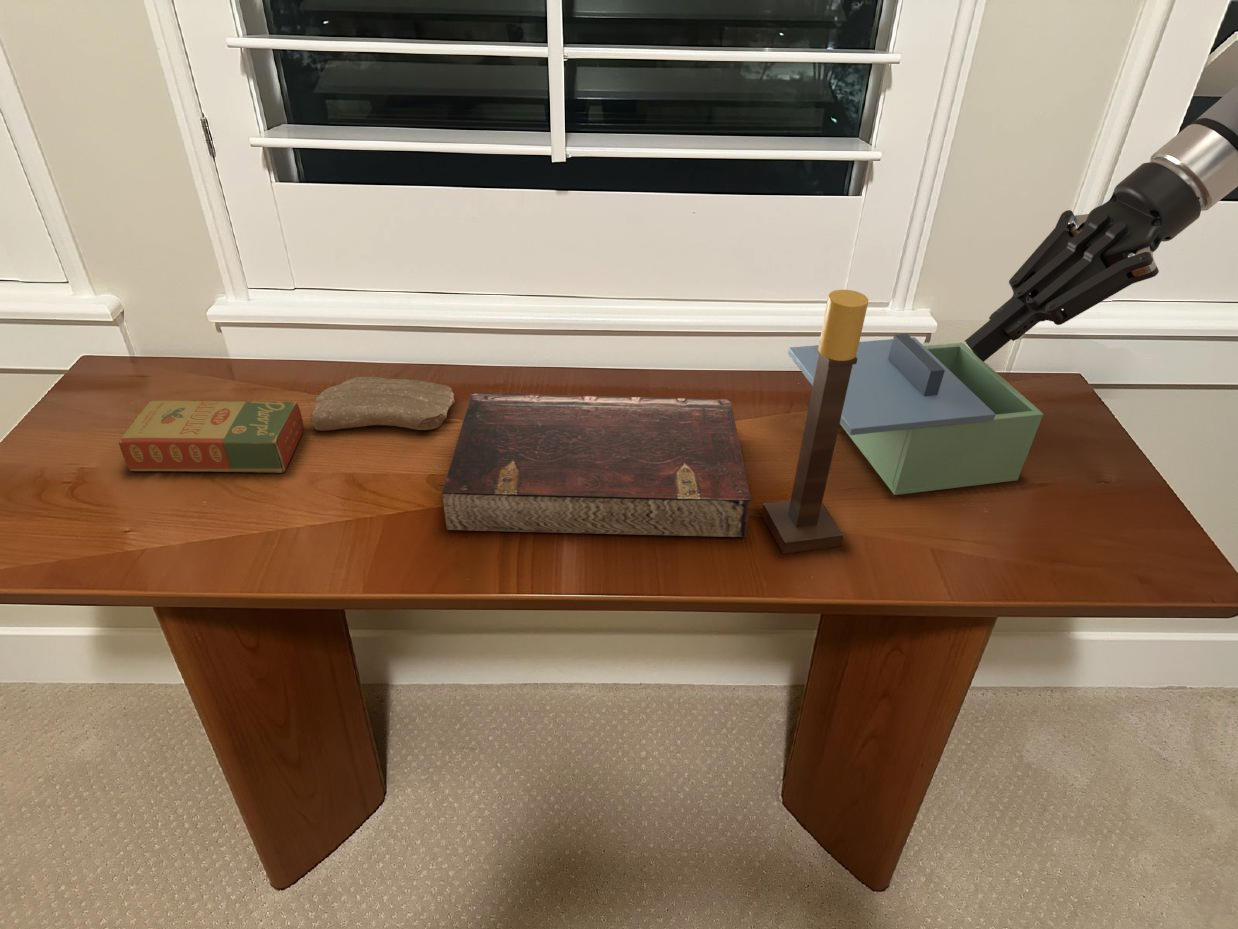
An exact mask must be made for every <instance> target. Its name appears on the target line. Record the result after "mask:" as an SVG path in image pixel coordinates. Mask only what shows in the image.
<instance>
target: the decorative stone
mask: <svg viewBox="0 0 1238 929" xmlns="http://www.w3.org/2000/svg"><path fill="white" fill-rule="evenodd" d="M454 394H455V393H454V392H453V390H452V387H451V386H449V385H446V384H442V383H437V382H431V381H424V380H415V379H411V378H403V379H400V378H394V379H393V378H383V377H379V376H356V377H352V378H350V379H348V380H344V381H343V382H341V383H339V384H337V385H334V386H330V387H328V388H325V389H324V390H323V391H322V392H320V394H319V395H318V396H317V397H315V405H314V409H313V411H312V412H311V419H310V420H311V423H312V426H313V428H314V430H316V431H319V432H320V431H321V432H322V431H324V432H325V431H335V430H336V431H337V430H341V429H342V430H344V429H352V428H353V429H354V428H360V427H361V428H362V427H368V426H389V427H390V426H391V427H392V426H393V427H400V428H406V429H410V430H417V431H429V430H434V429H438V428H439V427H441V425H443V423H444V421H445V420H446V419H447V417H448V411H449V410H450V409H451V407H452V406H453V405H454V404H455V395H454Z"/></svg>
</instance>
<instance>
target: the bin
mask: <svg viewBox="0 0 1238 929" xmlns="http://www.w3.org/2000/svg"><path fill="white" fill-rule="evenodd" d="M923 346H924V347H925V348H927V349H928V350H929V351H930V352H931V353H932V354H933V355H934V356H935V357H936V358H937V359H938V360H939V361H940V362H941V363H942V364H943V365H944V366H945V367H946V368H948V369H949V370H950V371H951V372H952V373H953V374H954V375H955V376H956V377H957V378H958V379H959V380H960V381H961V382H962V383H963V384H964V385H965V386H966V387H967V388H969V389H970V390H971V391H972V392H973V393H974V394H975V395H976V396H977V397H978V398H979V399H980V400H981V401H982V402H983V403H984V404H985V405H986V406H987V407H988V408H990V409H991V410H992V411H993V412H994V413H995V417H994V420H992V421H983V422H973V423H963V424H954V425H944V426H934V427H925V428H915V429H905V430H896V431H886V432H876V433H866V434H857V435H850V434H849V433H848V432H847V430H846V429H845V428H844V426H843V425H842V424H841V422H840V424H839V426H841V427H842V429H843V430H844V431H845V432H846V434H847V435H848V437H849V438H850V439H851V440H852V442H853V443H854V444H855V446H856V447H857V448H858V450H859V451H860V452H861V454H862V455H863V456H864V457H865V458H866V460H867V461H868V463H869V464H870V465H871V467H872V468H873V469H874V471H875V472H876V473H877V474H878V475H879V477H880V479H881V480H882V481H883V482H884V483H885V485H886V486H887V487H888V489H889V490H890V492H891V493H892V494H893V495H894V496H899V495H907V494H915V493H924V492H933V491H940V490H941V491H942V490H950V489H956V488H957V489H958V488H965V487H974V486H982V485H992V484H998V483H1007V482H1014V481H1018V480H1019V478H1020V475H1021V472H1022V470H1023V467H1024V465H1025V462H1026V459H1027V457H1028V454H1029V452H1030V449H1031V447H1032V445H1033V442H1034V439H1035V437H1036V435H1037V432H1038V429H1039V426H1040V424H1041V421H1042V420H1043V418H1044V417H1043V416H1044V413H1043V411H1040V409H1039V408H1037V407H1036V406H1035V405H1034V404H1033V403H1032V402H1031V401H1030V400H1029V399H1028V398H1026V397H1025V396H1024V395H1023V394H1022V393H1021V392H1019V391H1018V390H1017V389H1016V388H1015V387H1014V386H1013V385H1012V384H1010V382H1008V381H1007V380H1006V379H1005V378H1003V377H1002V376H1001V375H1000V374H999V373H998V372H997V371H995V370H994V369H993V368H992V367H991V366H990V365H989V364H988V363H986V361H984V362H983V361H982V360H980V359H979V358H978V357H977V356H976V355H975V354H974V353H973V351H972V350H971V349H970V347H969V346H968V345H967V344H966V343H963V342H954V343H942V344H931V345H929V344H927V345H923Z"/></svg>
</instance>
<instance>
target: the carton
mask: <svg viewBox="0 0 1238 929" xmlns="http://www.w3.org/2000/svg"><path fill="white" fill-rule="evenodd" d="M301 412H302V411H301V409H300V405H299V403H298V402H296V401H234V400H233V401H229V400H228V401H226V400H225V401H224V400H223V401H221V400H219V401H218V400H217V401H215V400H214V401H213V400H150V401H149V402H148V403H147V405H146V406H145V407H143V409H142V411H141V412H140V413H139V414H138V415H137V417H135V419H134V421H133V422H132V423H131V425H130V426H129V427H128V428H127V430H126V431H125V432H124V434H123V435H122V436H121V438H120V439H119V441H118V445H119V448H120V451H121V455H122V457H123V459H124V461H125V464H126V466H127V468H128V470H129V471H130V472H218V473H219V472H224V473H258V474H259V473H261V474H262V473H263V474H282V473H285V471H286V470H287V467H288V465H289V463H290V461H291V459H292V457H293V454H294V452H295V450H296V448H297V446H298V444H299V441H300V439H301V437H302V435H303V433H304V429H305V426H304V420H303V417H302V416H303V415H302V413H301Z"/></svg>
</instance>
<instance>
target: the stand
mask: <svg viewBox="0 0 1238 929" xmlns="http://www.w3.org/2000/svg"><path fill="white" fill-rule="evenodd" d="M818 347H819V346H817V350H816V353H817V354H818V355H819V356H818V361H817V367H816V372H815V377H814V382H813V386H812V387H811V393H810V399H809V402H808V403H809V404H808V409H807V413H806V420H805V424H804V428H803V429H804V430H803V434H802V440H801V445H800V449H799V454H798V455H799V456H798V460H797V466H796V470H795V476H794V481H793V486H792V491H791V496H790V499H789V500H781V501H771V502H763V504H762V509H761V516H762V519H763V520H764V522H765V524H766V526H767V527H768V529H769V532H770V533H771V535H772V537H773V539H774V540H775V543H776V544H777V546H778V548H779V550H780V552H781V554H782V555H786V554H793V553H794V554H795V553H800V552H801V553H803V552H809V551H818V550H823V549H825V550H826V549H831V548H838V547H839V548H840V547H842V542H843V540H844V533H843V532H842V531H841V529H840V527H839V526H838V524H837V523H836V521H835V519H834V517H832V515H831V513H830V512H829V511H828V509H827V507H826V506H825V504H824V502H823V501H824V496H825V492H826V487H827V483H828V477H829V473H830V468H831V464H832V459H833V455H834V450H835V446H836V442H837V438H838V433H839V429H840V420H841V415H842V411H843V406H844V402H845V397H846V393H847V388H848V384H849V379H850V375H851V370H852V366H853V364H856V363H857V357H855V358H853V359H851V360H847V361H836V360H832V359H828V358H826V357H824V356H823V355H821V354H820V353H819V350H818Z"/></svg>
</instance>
